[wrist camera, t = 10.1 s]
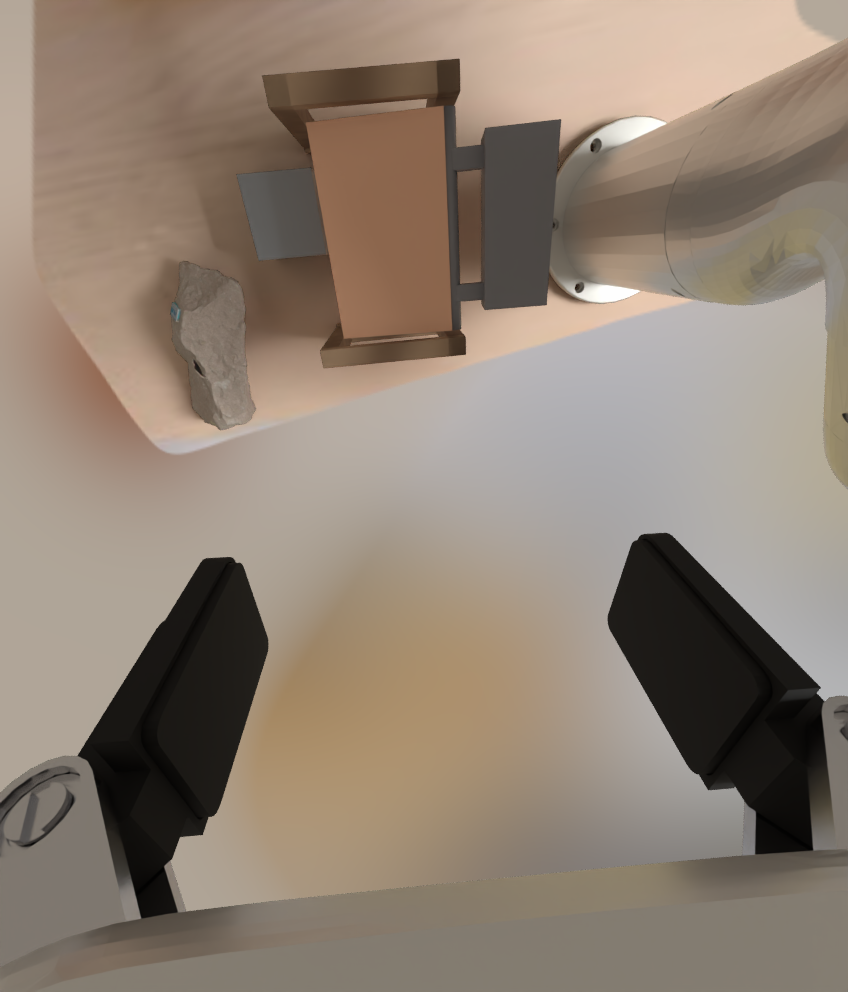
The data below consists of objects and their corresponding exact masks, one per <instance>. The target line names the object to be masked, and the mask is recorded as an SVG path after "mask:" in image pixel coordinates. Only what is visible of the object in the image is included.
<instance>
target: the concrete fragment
mask: <svg viewBox="0 0 848 992" xmlns="http://www.w3.org/2000/svg"><path fill="white" fill-rule="evenodd" d="M179 270H180V272H179V277H180V285H179V288H178V292H177V297H176V298H175V302H172V306H171V313H170V314H171V321H172V331H173V335H172V341H173V343H174V345H175V348H176V351H177V352H178V353H179V354H180V355H181V356H182V357H183V358H184V359H185V360H186V361H187V362H188V370H189V382H190V386H191V399H192V407H193V409H194V410H195V411H196V412H197V413H198V414H199V415H200V417H201V418H202V419H203V420H204V422H205V423H208V424H211V425H214V426H216V427H218V429H219V430H225V429H229V428H231V427H234V426H235V425H241V424H246V423H247V422H248V421H250V420H251V418H252V415H253V414H254V412H255V410H256V408H255V405H254V403H253V401H252V399H251V394H250V385H249V382H248V376H247V371H246V367H247V362H246V358H245V351H244V348H245V338H244V335H245V330H246V325H245V322H244V316H245V312H246V308H245V304H244V295H243V291H242V288H241V286H240V285H239V283H238V281H236V280H235V279H234V278H232V277H230V278H228V277H226V276H223V275H222V274H221V273H220V272H219V271H218V270H210V269H202V268H200V267H199V266H198V265H195V264H192V263H189V262H187V261H183V262H180V263H179Z"/></svg>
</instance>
